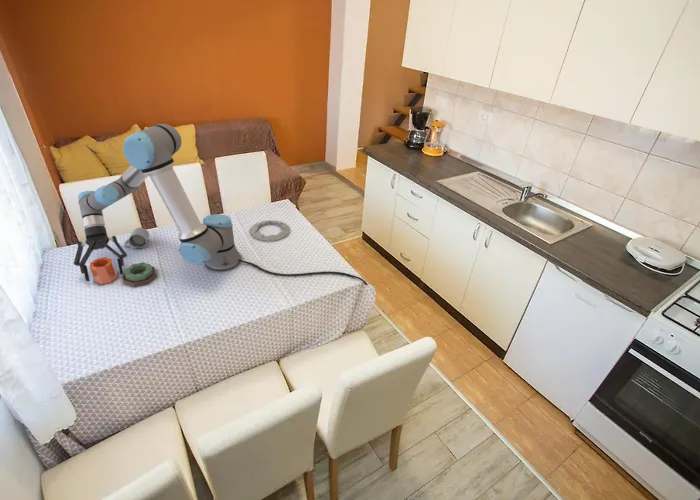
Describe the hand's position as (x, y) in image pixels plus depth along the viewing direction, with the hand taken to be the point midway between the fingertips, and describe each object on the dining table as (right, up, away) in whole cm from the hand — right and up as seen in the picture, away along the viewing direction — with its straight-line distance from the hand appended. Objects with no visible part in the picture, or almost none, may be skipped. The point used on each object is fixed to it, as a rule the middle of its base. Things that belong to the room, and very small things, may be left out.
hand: (105, 277), depth 157 cm
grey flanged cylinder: (0, +14, +25) cm, 28 cm away
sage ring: (+12, +1, +4) cm, 13 cm away
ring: (+60, +21, +43) cm, 77 cm away
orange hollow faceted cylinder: (-2, -1, +3) cm, 4 cm away
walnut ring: (+12, 0, +5) cm, 13 cm away
